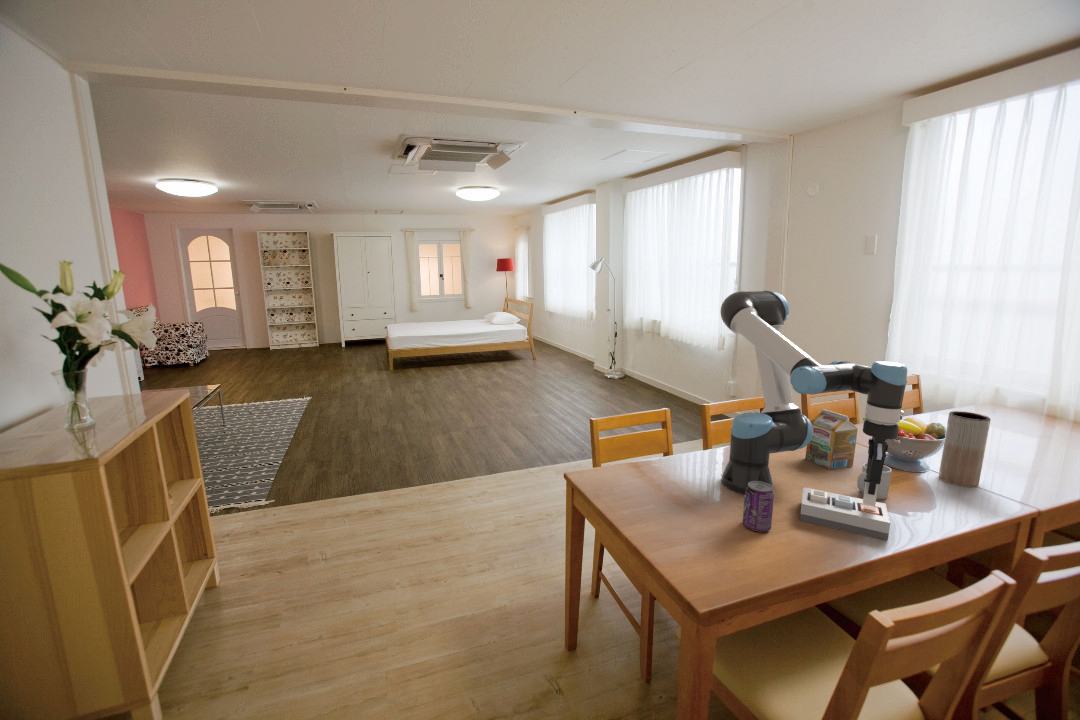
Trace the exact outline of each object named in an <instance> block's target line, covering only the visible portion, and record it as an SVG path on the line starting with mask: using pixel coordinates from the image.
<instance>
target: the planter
mask: <svg viewBox="0 0 1080 720" xmlns="http://www.w3.org/2000/svg"><path fill="white" fill-rule="evenodd" d="M990 424H991V418H990V417H989V416H988V415H985V414H981V413H976V412H971V411H963V410H962V411H961V410H953V411H949V413H948V419H947V423H946V429H945V430H946V431H945V434H944V435H945V436H944V443H943V449H942V453H941V454H942V455H941V461H940V466H939V473H938V477H939V478H940V479H941V480H942V481H944V482H946V483H949V484H952V485H955V486H959V487H966V488H976V487H978V486H979V485H980V480H981V475H982V469H983V463H984V457H985V453H986V449H987V448H986V446H987V441H988V436H989V430H990Z"/></svg>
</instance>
